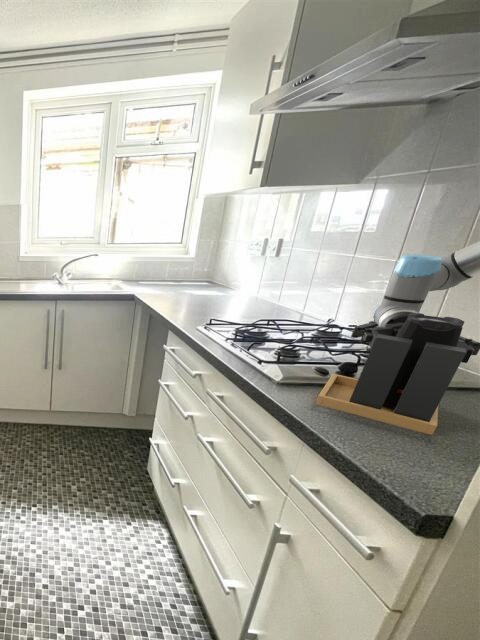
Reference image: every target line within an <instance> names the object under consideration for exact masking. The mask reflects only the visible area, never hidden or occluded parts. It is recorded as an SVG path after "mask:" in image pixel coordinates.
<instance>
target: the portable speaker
mask: <svg viewBox="0 0 480 640" xmlns="http://www.w3.org/2000/svg"><path fill="white" fill-rule="evenodd" d="M464 324H465V320H462V319H461V318H458V317H453V316H444V317H443V316H442V317H441V316H435V315H426V314H424V313H420V312H419V313H412V314H409V316H408V318H407V321H405V323H404V324H403V326H402V327H401V329H400V331H399V332H398V334H397V335H396V337H399V338H405V339H411V340H412V344H411V346H410V348H409V350H408V352H407V354H406V357H405V359H404V361H403V363H402V365H401V367H400V369H399V372H398V374H397V376H396V378H395V380H394V382H393V384H392V387H391V389H390V391H389V393H388V395H387V397H386V399H385V401H384V404H385V405H389V406H392V407H396V406H397V404H398V402H399V399H400V397H401V395H402V393H403V391H404V389H405V387H406V385H407V383H408V381H409V379H410V377H411V375H412V373H413V370H414V368H415V366H416V364H417V362H418V360H419V358H420V356H421V354H422V352H423V350H424V348H425V346H426V344H427V342H429V343H435V344H441V345H447V346H453V347H457V344H458V341H459V338H460V336H461V334H462V331H463V326H464ZM384 404H383V405H384Z"/></svg>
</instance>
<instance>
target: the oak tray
mask: <svg viewBox="0 0 480 640" xmlns="http://www.w3.org/2000/svg"><path fill="white" fill-rule="evenodd" d="M358 380H359V378H355V377H350V376H345V375H341V374H337V373H332V375H331V376H330V378H329V379H328V381H327V382H326V384H325V385H324V386H323V388H322V389H321V391H320V393H319V394H318V396H317V398H316V401H315V405H318V406H320V407H321V406H322V407H325V408H329V409H333V410H337V411H341V412H345V413H348V414H351V415H355V416H360V417H363V418H367V419H369V420H374V421H378V422H381V423H385V424H388V425H393V426H396V427H400V428H404V429H407V430H411V431H415V432H419V433H422V434H426V435H430V436H433V435H434V433H435V431H436V429H437V427H438V421H439V419H438V418H439V417H438V416H439V406H438V407H437V409H436V410H435V412H434V414H433V416H432V418H431V420H430V422H426V421H422V420H419V419H415V418H411V417H407V416H403V415H399V414H395V413H393V412H394V410H395V408H396V407H392V406H389V405H385V404H384V405H383V406H382V408H381V410H379V409H375V408H372V407H368V406H364V405H360V404H356V403H352V402H349V401H350V398H351V396H352V394H353V391H354V389H355V387H356V384H357V382H358Z"/></svg>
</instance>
